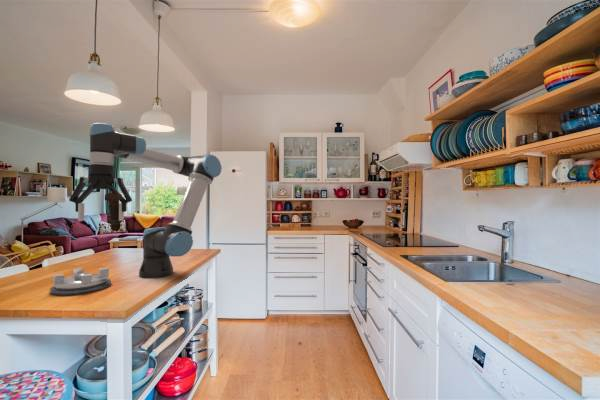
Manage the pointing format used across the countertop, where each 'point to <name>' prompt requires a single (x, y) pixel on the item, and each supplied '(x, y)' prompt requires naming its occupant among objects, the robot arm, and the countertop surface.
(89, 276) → the grey round fixture plate
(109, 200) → the bolt
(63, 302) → the countertop surface
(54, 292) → the dark round base plate
